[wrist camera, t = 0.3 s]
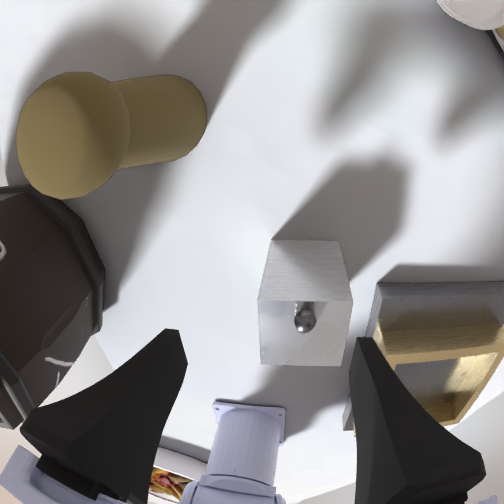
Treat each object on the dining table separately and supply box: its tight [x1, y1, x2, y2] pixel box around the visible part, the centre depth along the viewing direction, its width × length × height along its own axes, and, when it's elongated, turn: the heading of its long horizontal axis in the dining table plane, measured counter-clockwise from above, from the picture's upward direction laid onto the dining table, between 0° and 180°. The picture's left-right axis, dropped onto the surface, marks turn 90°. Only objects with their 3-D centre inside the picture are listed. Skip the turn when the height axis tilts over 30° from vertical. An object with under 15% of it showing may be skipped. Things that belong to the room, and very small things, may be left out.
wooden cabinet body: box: [343, 281, 504, 437], centre depth 22 cm, size 18×13×4 cm
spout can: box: [257, 239, 353, 366], centre depth 17 cm, size 5×5×8 cm
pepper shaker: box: [16, 72, 207, 200], centre depth 13 cm, size 6×6×11 cm
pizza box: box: [148, 447, 207, 504], centre depth 43 cm, size 30×30×8 cm
